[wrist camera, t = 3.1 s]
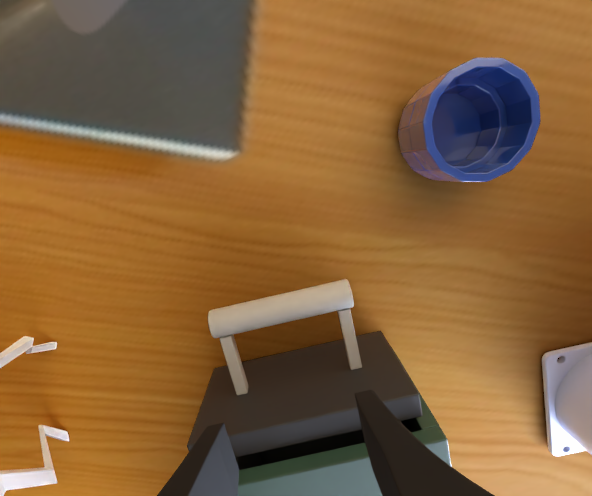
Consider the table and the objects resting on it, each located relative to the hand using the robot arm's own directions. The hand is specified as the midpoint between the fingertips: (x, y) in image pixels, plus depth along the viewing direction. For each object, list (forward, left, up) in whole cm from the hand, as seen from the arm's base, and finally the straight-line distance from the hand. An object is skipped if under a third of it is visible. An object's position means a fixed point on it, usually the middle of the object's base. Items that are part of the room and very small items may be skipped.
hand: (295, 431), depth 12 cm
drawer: (0, +5, -9) cm, 10 cm away
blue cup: (-11, -9, -9) cm, 17 cm away
